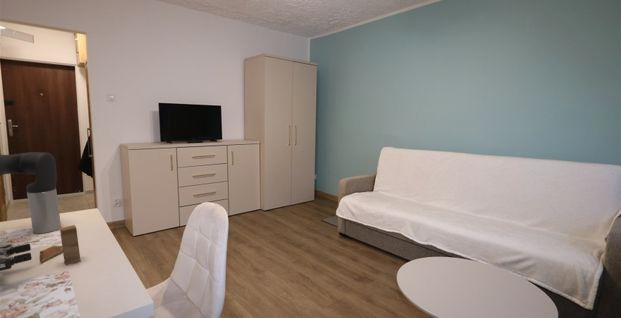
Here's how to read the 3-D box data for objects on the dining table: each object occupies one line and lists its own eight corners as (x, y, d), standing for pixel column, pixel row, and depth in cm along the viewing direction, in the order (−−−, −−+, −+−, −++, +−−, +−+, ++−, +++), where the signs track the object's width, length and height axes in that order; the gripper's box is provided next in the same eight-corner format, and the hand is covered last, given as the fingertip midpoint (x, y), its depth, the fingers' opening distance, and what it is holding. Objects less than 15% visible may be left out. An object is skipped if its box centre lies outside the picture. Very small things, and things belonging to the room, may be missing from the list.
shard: (40, 265, 103) (40, 260, 103) (20, 264, 104) (20, 259, 104) (70, 250, 114) (69, 246, 113) (51, 249, 115) (50, 244, 114)
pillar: (64, 261, 105) (59, 227, 103) (78, 257, 107) (74, 224, 105) (65, 265, 102) (61, 231, 100) (80, 261, 105) (76, 228, 103)
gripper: (-54, 266, 80) (29, 247, 91) (-47, 248, 90) (28, 233, 101) (-49, 292, 81) (33, 270, 92) (-42, 272, 92) (31, 254, 103)
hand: (30, 251), depth 97 cm, fingers open, 8 cm apart
